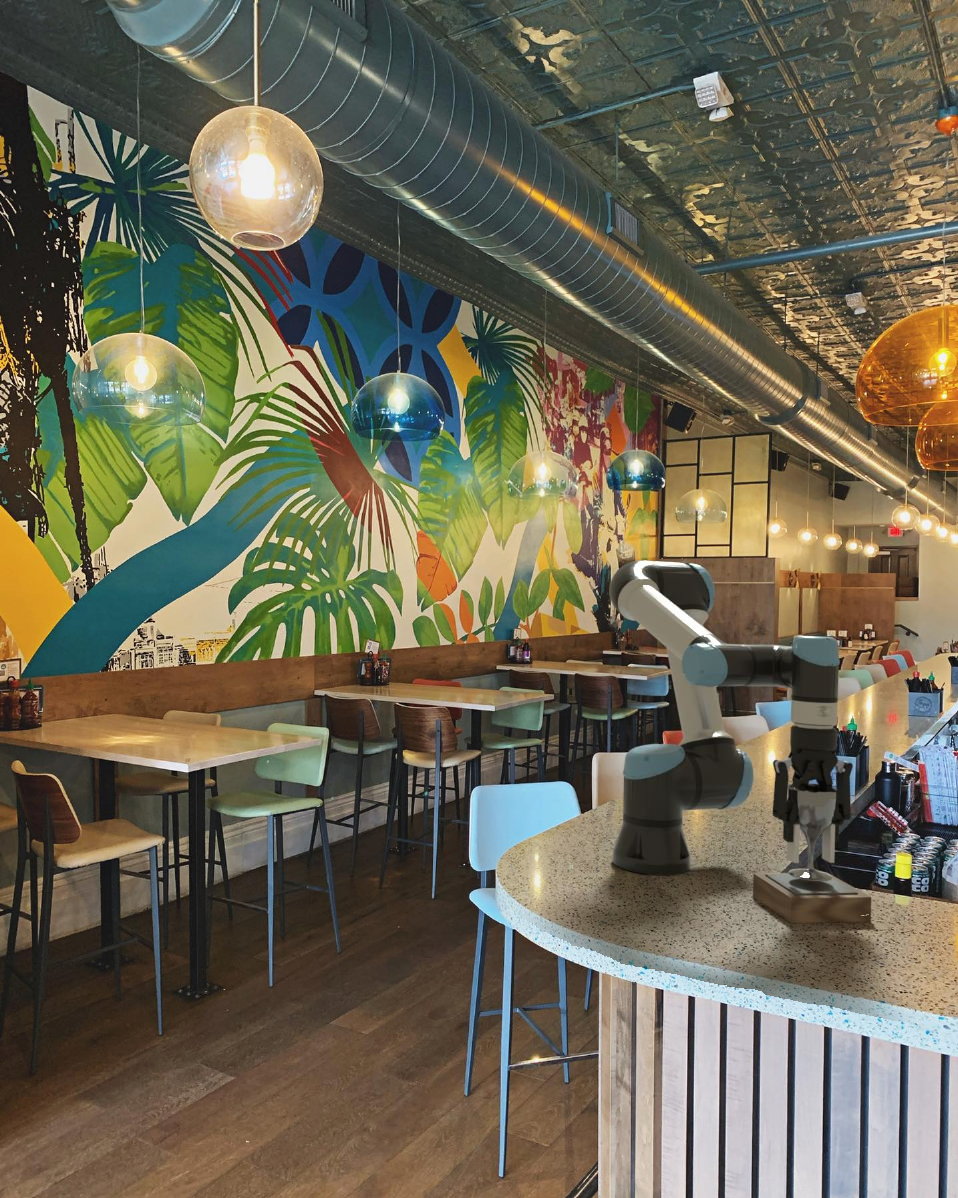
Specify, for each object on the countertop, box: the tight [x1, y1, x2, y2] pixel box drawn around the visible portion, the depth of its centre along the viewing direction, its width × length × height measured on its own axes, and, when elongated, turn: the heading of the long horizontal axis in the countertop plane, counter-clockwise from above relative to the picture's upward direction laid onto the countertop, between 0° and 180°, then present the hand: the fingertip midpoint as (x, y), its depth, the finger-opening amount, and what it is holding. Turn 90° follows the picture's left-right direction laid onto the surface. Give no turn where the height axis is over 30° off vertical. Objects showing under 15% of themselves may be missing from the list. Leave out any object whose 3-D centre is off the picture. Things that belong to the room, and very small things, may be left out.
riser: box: [752, 871, 872, 924], centre depth 153 cm, size 14×14×4 cm
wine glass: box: [787, 782, 837, 881], centre depth 153 cm, size 8×8×15 cm
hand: (810, 860), depth 153 cm, fingers closed on wine glass, 6 cm apart
